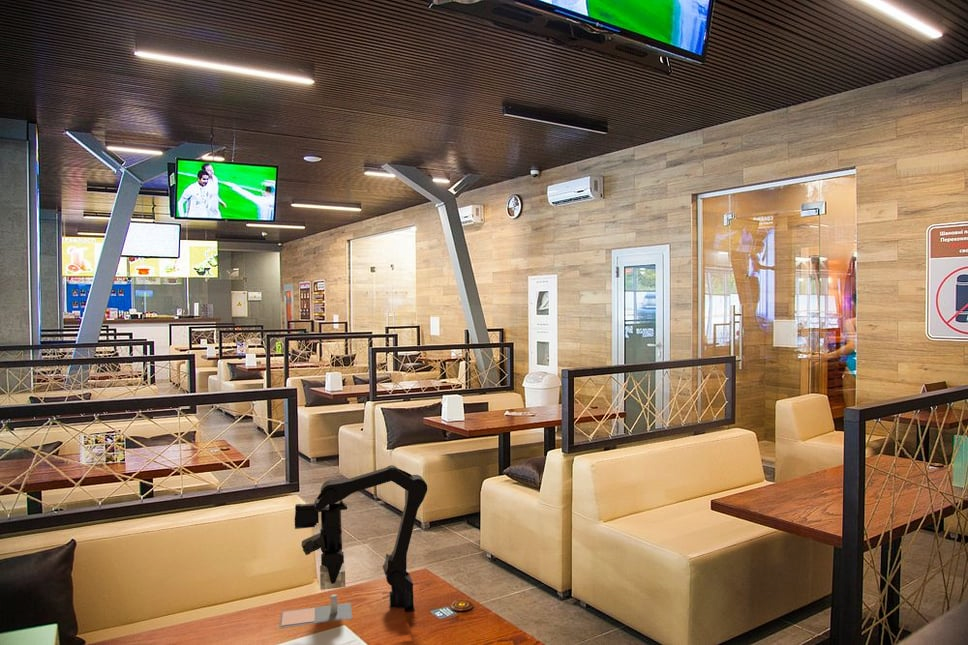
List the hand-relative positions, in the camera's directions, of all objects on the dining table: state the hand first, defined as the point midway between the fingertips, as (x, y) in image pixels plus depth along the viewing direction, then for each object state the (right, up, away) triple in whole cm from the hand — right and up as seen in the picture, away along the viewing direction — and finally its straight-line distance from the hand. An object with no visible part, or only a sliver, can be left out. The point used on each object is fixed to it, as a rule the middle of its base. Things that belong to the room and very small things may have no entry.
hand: (332, 578), depth 194 cm
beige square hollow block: (0, -2, 0) cm, 2 cm away
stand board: (-4, -11, -1) cm, 12 cm away
